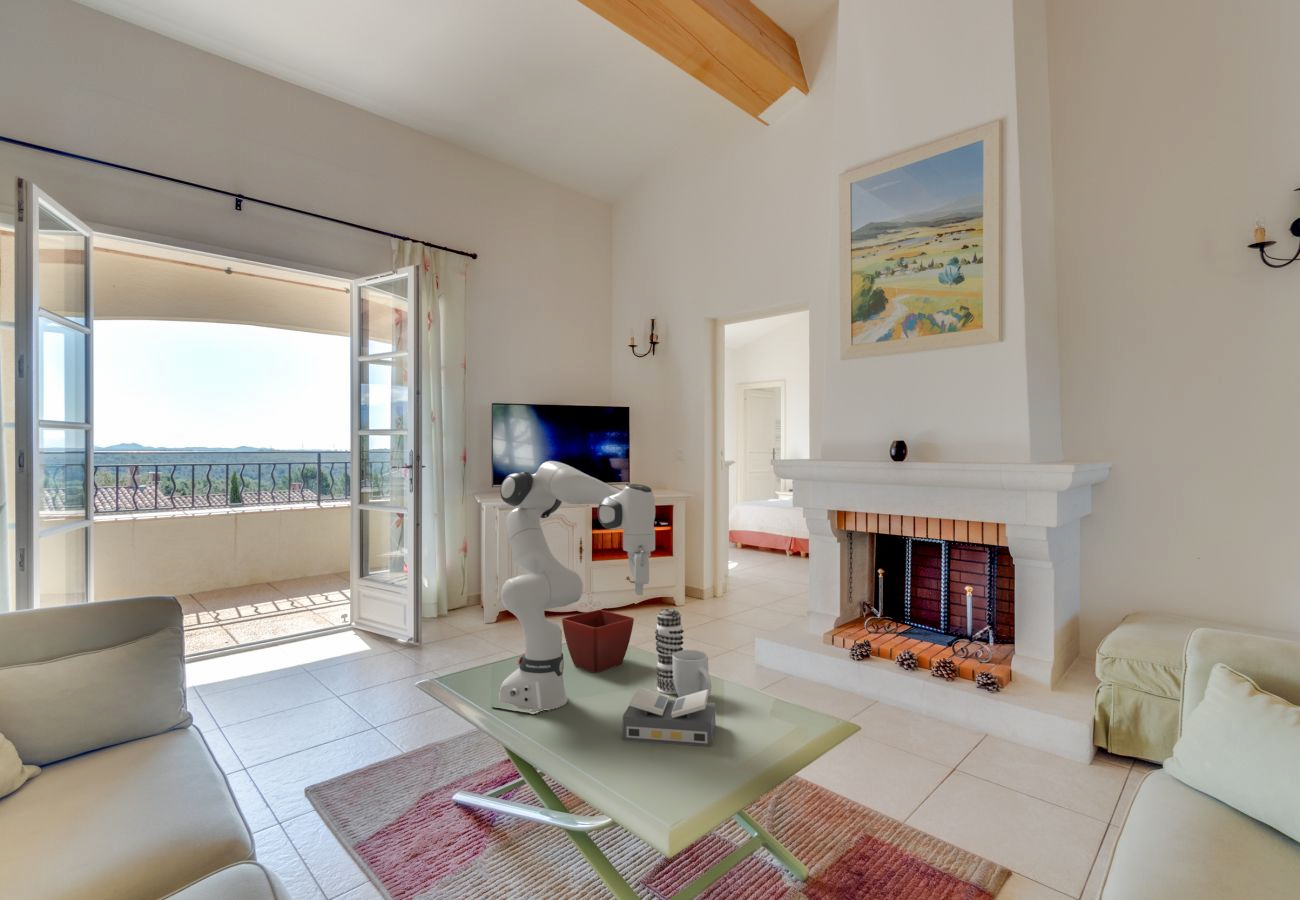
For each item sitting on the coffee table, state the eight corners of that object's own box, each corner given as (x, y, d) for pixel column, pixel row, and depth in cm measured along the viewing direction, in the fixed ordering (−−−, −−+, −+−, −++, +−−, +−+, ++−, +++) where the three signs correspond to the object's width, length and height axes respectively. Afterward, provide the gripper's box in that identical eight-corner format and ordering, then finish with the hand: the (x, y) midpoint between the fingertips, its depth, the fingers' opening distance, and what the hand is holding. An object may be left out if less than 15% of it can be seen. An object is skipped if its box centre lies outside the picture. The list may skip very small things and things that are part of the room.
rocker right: (672, 718, 154) (670, 714, 154) (678, 701, 165) (677, 697, 165) (705, 708, 153) (703, 704, 153) (709, 692, 164) (707, 689, 164)
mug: (724, 703, 179) (723, 659, 179) (695, 712, 173) (694, 666, 173) (693, 688, 191) (693, 647, 192) (665, 696, 185) (665, 653, 185)
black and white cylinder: (686, 684, 195) (684, 607, 196) (682, 695, 186) (681, 613, 187) (658, 683, 196) (657, 606, 197) (653, 693, 187) (652, 612, 188)
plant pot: (635, 664, 216) (635, 617, 216) (595, 678, 202) (595, 627, 202) (600, 653, 229) (600, 609, 229) (560, 665, 215) (560, 618, 215)
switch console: (622, 740, 155) (622, 711, 156) (633, 719, 168) (633, 693, 169) (711, 747, 151) (711, 717, 151) (715, 724, 164) (715, 698, 164)
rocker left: (629, 705, 157) (629, 701, 157) (637, 690, 167) (638, 686, 167) (662, 715, 155) (663, 711, 155) (668, 699, 166) (669, 695, 166)
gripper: (654, 549, 155) (654, 602, 154) (646, 538, 175) (646, 586, 175) (630, 549, 154) (630, 603, 154) (625, 539, 174) (625, 586, 174)
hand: (639, 594), depth 164 cm, fingers closed
